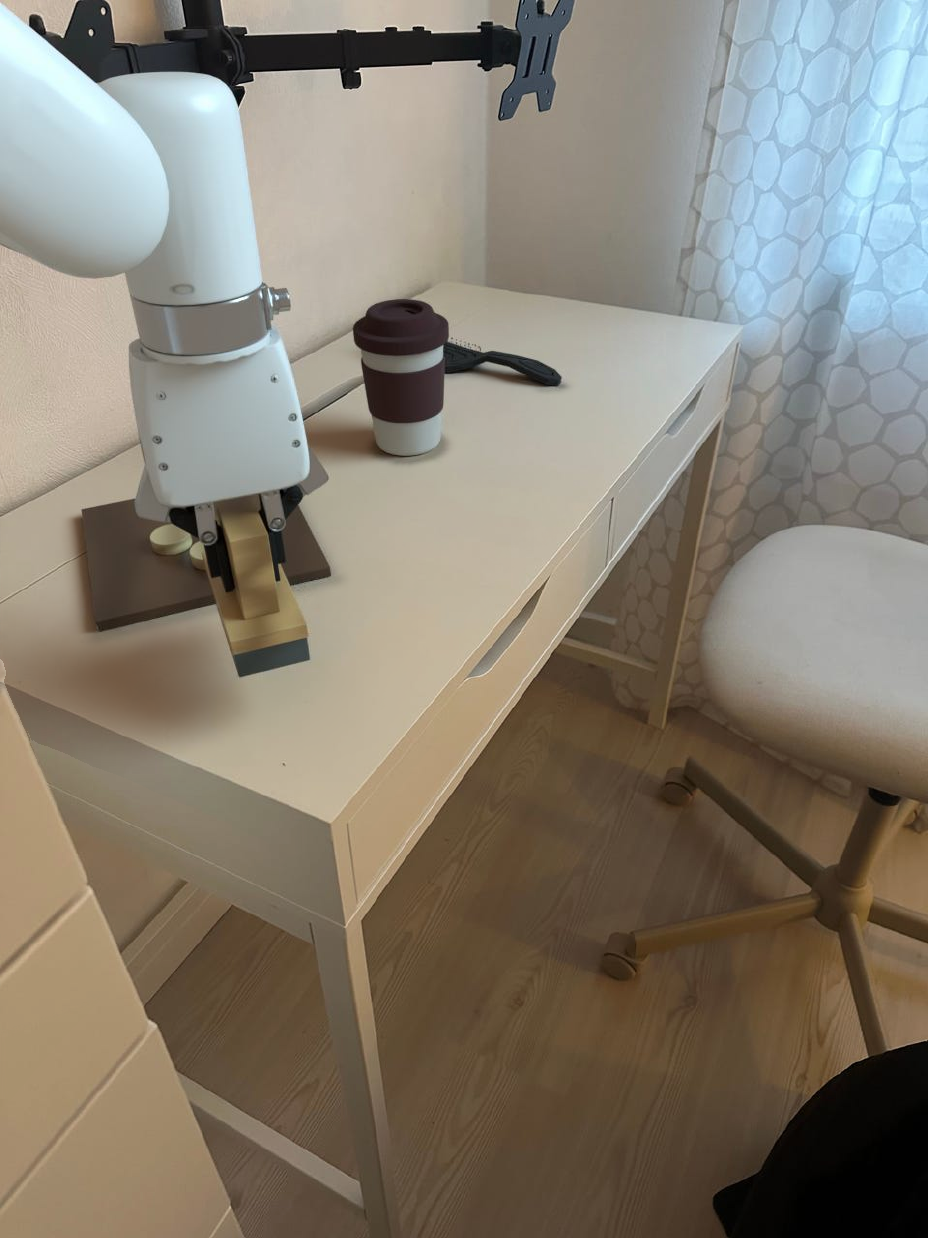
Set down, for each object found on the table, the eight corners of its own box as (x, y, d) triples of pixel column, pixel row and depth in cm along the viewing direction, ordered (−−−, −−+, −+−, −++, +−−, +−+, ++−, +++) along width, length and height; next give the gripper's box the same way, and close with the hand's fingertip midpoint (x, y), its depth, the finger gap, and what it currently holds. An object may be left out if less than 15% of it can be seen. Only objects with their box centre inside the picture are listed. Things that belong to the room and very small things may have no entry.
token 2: (195, 574, 79) (192, 563, 78) (189, 553, 82) (186, 542, 81) (235, 565, 80) (233, 553, 79) (228, 545, 83) (226, 534, 82)
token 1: (155, 559, 81) (151, 548, 80) (150, 539, 84) (147, 528, 83) (195, 550, 82) (192, 539, 81) (189, 531, 85) (186, 520, 84)
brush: (237, 678, 61) (213, 561, 55) (208, 586, 70) (185, 477, 64) (312, 660, 62) (295, 544, 57) (274, 572, 71) (257, 464, 66)
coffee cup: (369, 467, 96) (356, 329, 87) (360, 428, 104) (346, 297, 95) (460, 457, 97) (456, 320, 88) (444, 419, 105) (438, 289, 96)
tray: (98, 631, 74) (95, 622, 74) (84, 517, 89) (81, 508, 88) (331, 575, 80) (330, 566, 79) (281, 477, 95) (280, 468, 94)
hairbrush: (547, 374, 108) (375, 331, 117) (545, 403, 110) (376, 358, 119) (575, 351, 113) (409, 312, 123) (572, 379, 116) (409, 338, 125)
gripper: (319, 284, 58) (344, 529, 69) (55, 316, 53) (127, 574, 64) (352, 319, 52) (373, 579, 63) (60, 359, 48) (137, 633, 59)
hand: (249, 575), depth 64 cm, fingers closed on brush, 2 cm apart
